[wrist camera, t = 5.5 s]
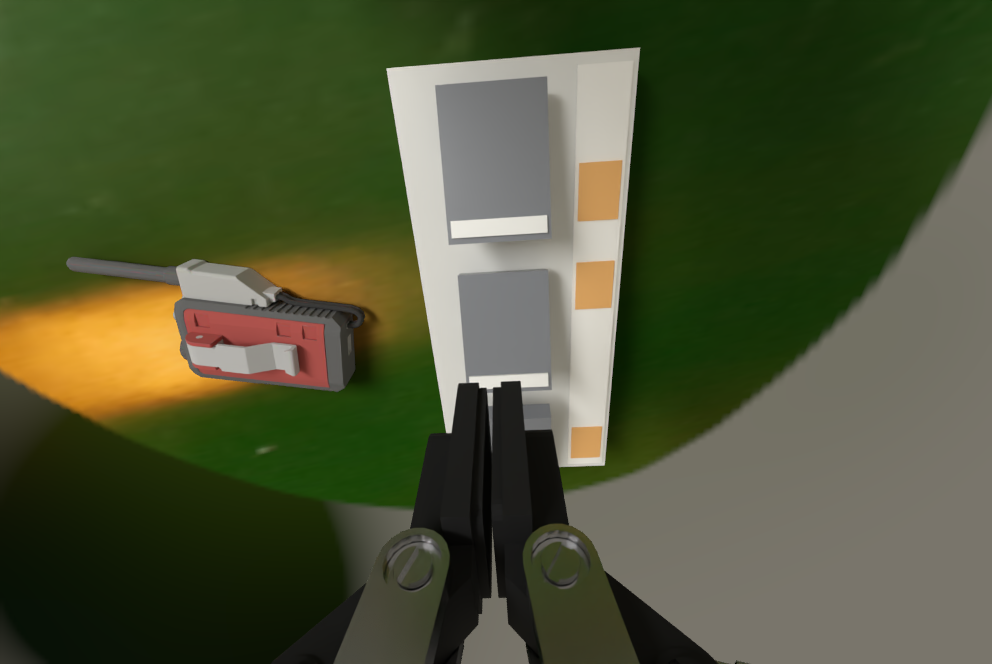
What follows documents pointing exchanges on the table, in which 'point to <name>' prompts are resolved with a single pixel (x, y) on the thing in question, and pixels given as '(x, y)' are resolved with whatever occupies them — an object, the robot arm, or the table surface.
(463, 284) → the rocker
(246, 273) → the walkie-talkie
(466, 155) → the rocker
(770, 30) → the table surface
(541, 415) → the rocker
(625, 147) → the switch unit
